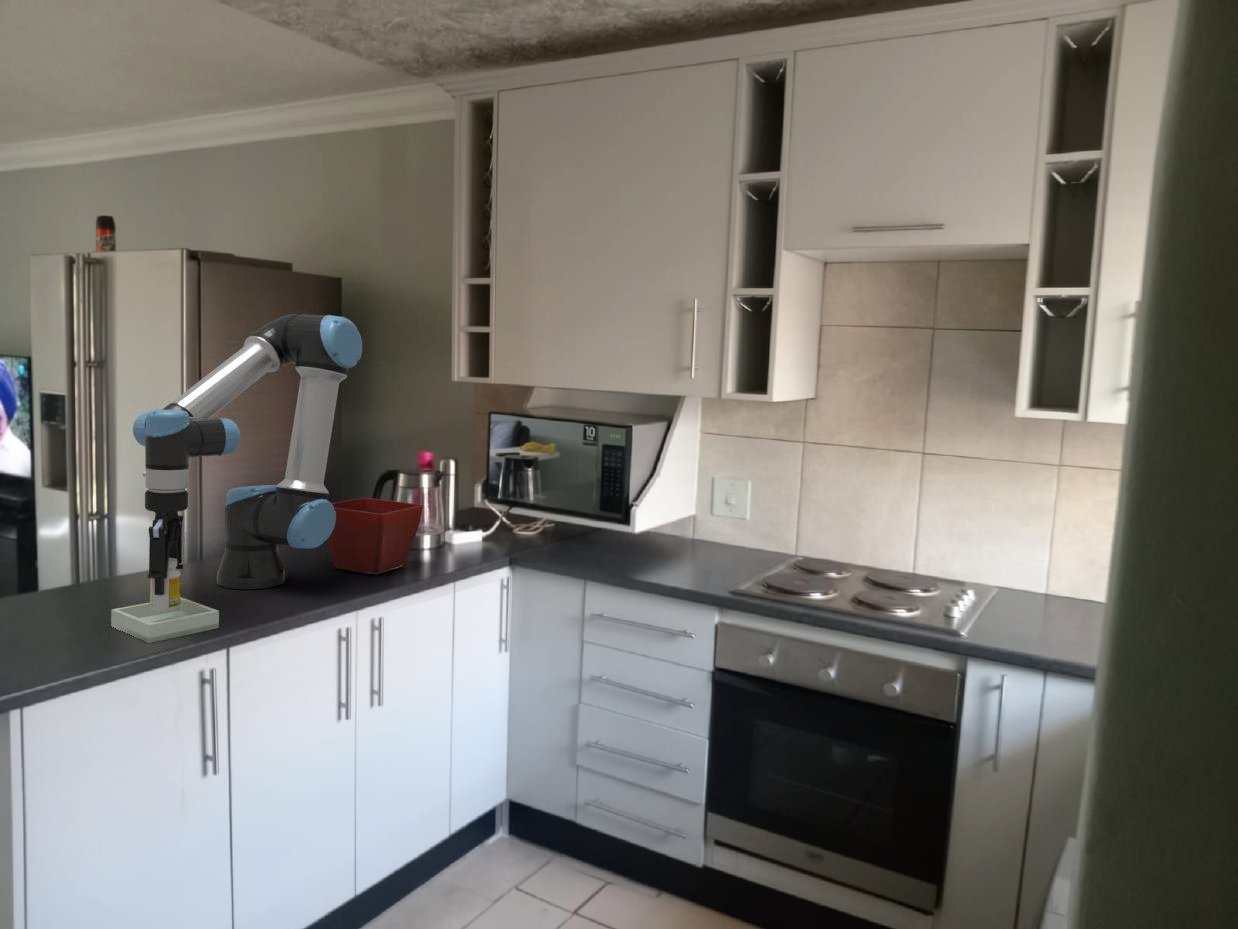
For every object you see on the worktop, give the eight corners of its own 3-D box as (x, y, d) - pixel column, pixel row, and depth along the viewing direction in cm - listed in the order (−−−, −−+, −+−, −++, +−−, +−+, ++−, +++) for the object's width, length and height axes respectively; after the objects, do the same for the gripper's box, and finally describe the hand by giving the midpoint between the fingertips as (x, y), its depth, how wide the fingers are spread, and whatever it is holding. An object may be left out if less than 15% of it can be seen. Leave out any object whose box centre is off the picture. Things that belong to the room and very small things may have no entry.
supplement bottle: (145, 606, 181) (145, 558, 179) (173, 602, 184) (174, 555, 183) (156, 612, 177) (156, 564, 176) (184, 608, 181) (185, 561, 180)
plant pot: (361, 557, 251) (364, 496, 249) (422, 566, 245) (424, 504, 243) (316, 570, 234) (318, 505, 232) (379, 581, 227) (382, 514, 225)
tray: (180, 613, 191) (180, 596, 190) (218, 628, 183) (218, 611, 183) (111, 627, 179) (111, 609, 179) (149, 643, 172) (149, 625, 171)
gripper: (160, 482, 186) (159, 593, 189) (129, 496, 168) (128, 619, 171) (200, 483, 188) (198, 594, 190) (173, 497, 170) (171, 619, 172)
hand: (165, 606), depth 181 cm, fingers closed on supplement bottle, 5 cm apart
